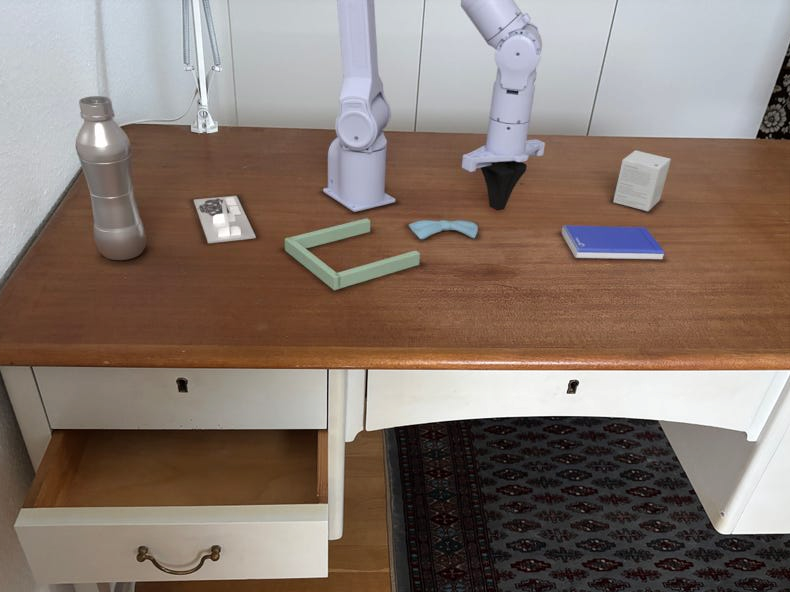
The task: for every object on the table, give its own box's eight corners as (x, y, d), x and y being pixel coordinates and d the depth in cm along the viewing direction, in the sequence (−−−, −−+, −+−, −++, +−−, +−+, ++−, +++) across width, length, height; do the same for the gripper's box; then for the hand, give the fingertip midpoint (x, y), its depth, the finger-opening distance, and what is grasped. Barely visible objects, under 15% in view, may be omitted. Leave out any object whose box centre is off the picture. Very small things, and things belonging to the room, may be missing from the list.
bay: (284, 250, 98) (284, 238, 97) (366, 229, 105) (366, 218, 104) (334, 290, 90) (334, 277, 89) (419, 265, 97) (420, 252, 96)
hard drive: (578, 249, 99) (665, 250, 100) (563, 223, 106) (644, 225, 107) (575, 259, 100) (662, 260, 101) (561, 233, 107) (642, 235, 108)
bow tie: (414, 230, 102) (407, 215, 106) (413, 240, 103) (407, 225, 107) (483, 228, 103) (474, 214, 107) (482, 238, 104) (472, 224, 108)
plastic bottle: (102, 270, 92) (70, 111, 80) (93, 248, 97) (61, 95, 85) (154, 261, 94) (129, 105, 83) (142, 240, 99) (117, 90, 88)
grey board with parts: (255, 239, 101) (253, 209, 99) (208, 244, 99) (204, 214, 97) (236, 198, 113) (234, 170, 110) (193, 202, 111) (190, 174, 108)
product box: (660, 201, 119) (672, 158, 114) (647, 213, 115) (660, 168, 110) (624, 191, 122) (635, 149, 117) (611, 202, 117) (621, 158, 113)
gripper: (490, 133, 96) (478, 227, 103) (565, 118, 103) (549, 207, 110) (456, 119, 100) (447, 210, 108) (531, 105, 107) (517, 192, 115)
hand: (496, 207), depth 110 cm, fingers closed
